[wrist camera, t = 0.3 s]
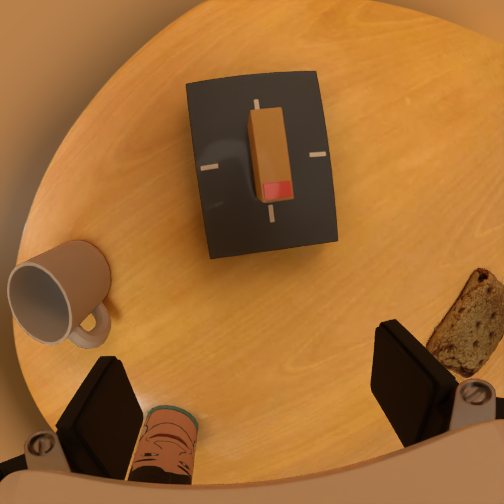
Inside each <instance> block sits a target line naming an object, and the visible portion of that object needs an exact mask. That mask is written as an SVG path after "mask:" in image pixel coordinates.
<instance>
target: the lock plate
mask: <svg viewBox="0 0 504 504" xmlns="http://www.w3.org/2000/svg"><path fill="white" fill-rule="evenodd" d="M186 92H187V101H188V109H189V118H190V126H191V134H192V142H193V150H194V157H195V164H196V172H197V179H198V186H199V192H200V199H201V206H202V212H203V219H204V225H205V231H206V237H207V243H208V249H209V255H210V259H216V258H223V257H230V256H237V255H244V254H251V253H258V252H265V251H272V250H280V249H287V248H294V247H301V246H308V245H315V244H322V243H329V242H336V241H338V232H337V219H336V207H335V197H334V187H333V178H332V169H331V161H330V153H329V146H328V138H327V131H326V125H325V118H324V112H323V106H322V100H321V94H320V89H319V83H318V78H317V73H316V71H292V72H274V73H261V74H250V75H241V76H232V77H225V78H218V79H211V80H205V81H199V82H193V83H188V84H186ZM276 107H281V108H282V113H283V120H284V126H285V133H286V140H287V148H288V155H289V162H290V170H291V178H292V186H293V195H294V199H291V200H283V201H275V202H267V203H263V202H262V201H261V200H259V199H258V198H257V195H256V187H255V180H254V172H253V165H252V157H251V150H250V143H249V136H248V128H247V124H248V120H249V115H250V110H255V109H265V108H276Z"/></svg>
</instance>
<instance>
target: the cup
mask: <svg viewBox="0 0 504 504" xmlns="http://www.w3.org/2000/svg"><path fill="white" fill-rule="evenodd" d="M110 282H111V277H110V270H109V267H108V264H107V262H106V260H105V258H104V256H103V255H102V253H101V252H100V251H99V250H98V249H97V248H96V247H94V246H93V245H91V244H90V243H88V242H85V241H82V240H73V241H70V242H67V243H64V244H62V245H60V246H57V247H55V248H53V249H51V250H49V251H46V252H44V253H42V254H40V255H38V256H36V257H33V258H31V259H29V260H27V261H25V262H23V263H21V264H19V265H17V266H16V267H15V268H14V269H13V270H12V272H11V274H10V276H9V280H8V285H7V293H8V300H9V305H10V308H11V310H12V313H13V315H14V317H15V319H16V321H17V322H18V324H19V325H20V327H21V328H22V329H23V330H24V331H25V332H26V333H27V334H28V335H29V336H31V337H32V338H33V339H34V340H36V341H38V342H41V343H43V344H48V345H55V344H59V343H61V342H63V341H64V340H65V339H66V338H67V337H68V338H69V339H70V340H71V341H72V342H73V343H74V344H75V345H77V346H78V347H81V348H85V349H91V348H96V347H99V346H100V345H102V344H103V343H104V342H105V340H106V339H107V337H108V335H109V332H110V329H111V318H110V314H109V312H108V310H107V308H106V307H105V305H104V304H103V303H102V301H103V299H104V298H105V297H106V295H107V293H108V291H109V289H110ZM90 313H92V315H93V316H94V318H95V320H96V326H95V327H94V328H93V329H92V330H91V331H89V332H88V331H86V330H84V329H83V328H82V327H81V326H80V323H81V322H82V321H83V320H84V319H85V318H86V317H87V316H88V315H89V314H90Z"/></svg>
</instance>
